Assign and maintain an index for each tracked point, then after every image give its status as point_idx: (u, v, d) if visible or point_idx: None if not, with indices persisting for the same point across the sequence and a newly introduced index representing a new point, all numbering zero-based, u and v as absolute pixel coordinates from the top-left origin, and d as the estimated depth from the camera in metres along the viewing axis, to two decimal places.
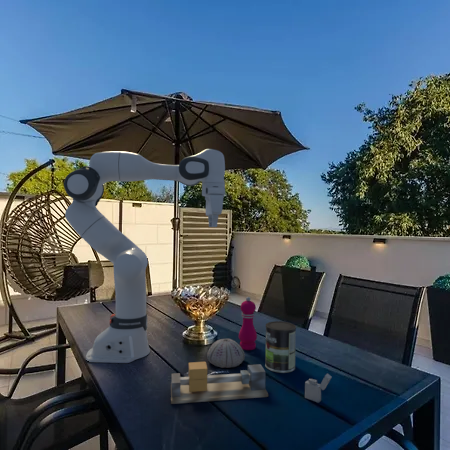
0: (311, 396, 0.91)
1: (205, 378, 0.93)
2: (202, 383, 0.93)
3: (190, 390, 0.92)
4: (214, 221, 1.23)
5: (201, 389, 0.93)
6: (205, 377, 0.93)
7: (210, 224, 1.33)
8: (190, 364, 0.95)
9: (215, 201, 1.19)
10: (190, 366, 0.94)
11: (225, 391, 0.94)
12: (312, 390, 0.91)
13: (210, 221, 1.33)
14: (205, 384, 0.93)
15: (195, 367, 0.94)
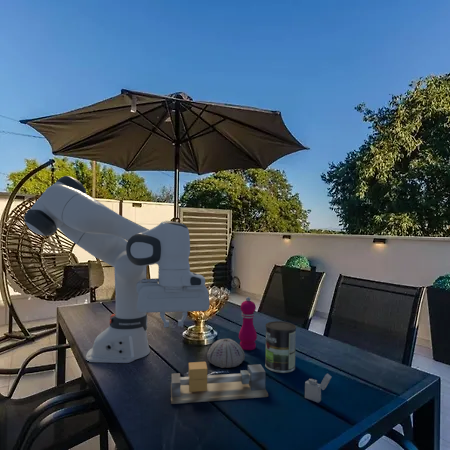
0: (311, 396, 0.91)
1: (205, 378, 0.93)
2: (202, 383, 0.93)
3: (190, 390, 0.92)
4: None
5: (201, 389, 0.93)
6: (205, 377, 0.93)
7: (168, 324, 0.93)
8: (190, 364, 0.95)
9: None
10: (190, 366, 0.94)
11: (225, 391, 0.94)
12: (312, 390, 0.91)
13: (165, 319, 0.93)
14: (205, 384, 0.93)
15: (195, 367, 0.94)
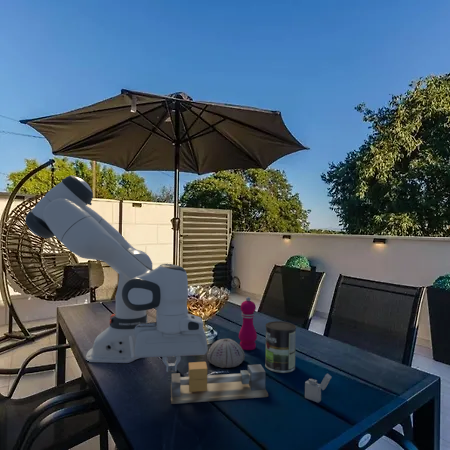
0: (311, 396, 0.91)
1: (205, 378, 0.93)
2: (202, 383, 0.93)
3: (190, 390, 0.92)
4: None
5: (201, 389, 0.93)
6: (205, 377, 0.93)
7: (171, 367, 0.93)
8: (190, 364, 0.95)
9: None
10: (190, 366, 0.94)
11: (225, 391, 0.94)
12: (312, 390, 0.91)
13: (167, 363, 0.93)
14: (205, 384, 0.93)
15: (195, 367, 0.94)
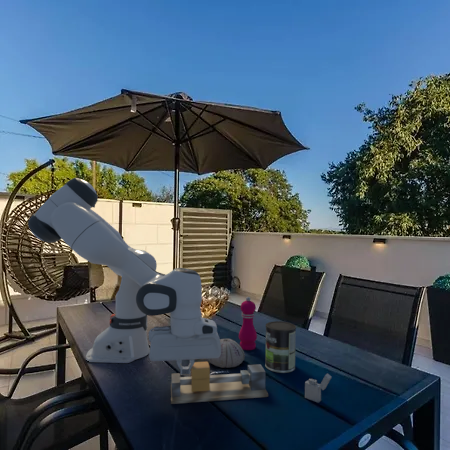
0: (311, 396, 0.91)
1: (207, 378, 0.93)
2: (205, 383, 0.93)
3: (193, 390, 0.92)
4: None
5: (203, 389, 0.93)
6: (207, 377, 0.93)
7: None
8: None
9: None
10: (192, 366, 0.94)
11: (225, 391, 0.94)
12: (312, 390, 0.91)
13: (181, 366, 0.94)
14: (207, 384, 0.93)
15: (197, 367, 0.94)
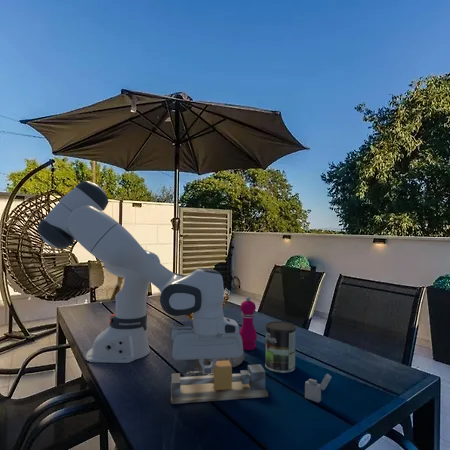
0: (311, 396, 0.91)
1: (230, 376, 0.94)
2: (227, 382, 0.94)
3: (215, 388, 0.93)
4: None
5: (226, 387, 0.94)
6: (230, 375, 0.94)
7: None
8: None
9: None
10: None
11: (225, 391, 0.94)
12: (312, 390, 0.91)
13: (204, 365, 0.95)
14: (230, 382, 0.94)
15: (219, 365, 0.95)
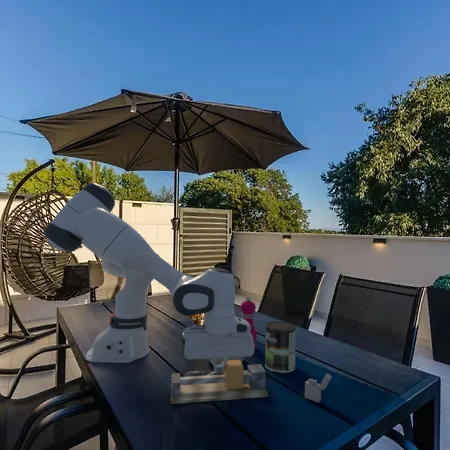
0: (311, 396, 0.91)
1: (241, 376, 0.94)
2: (238, 381, 0.94)
3: (227, 387, 0.94)
4: None
5: (237, 387, 0.94)
6: (241, 375, 0.94)
7: None
8: None
9: None
10: (226, 364, 0.96)
11: (225, 391, 0.94)
12: (312, 390, 0.91)
13: (216, 365, 0.95)
14: (241, 382, 0.94)
15: (230, 365, 0.95)
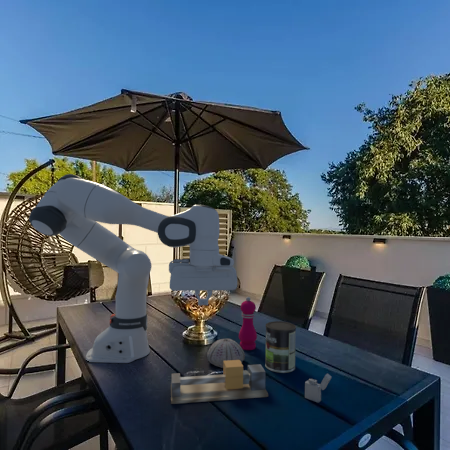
0: (311, 396, 0.91)
1: (241, 376, 0.94)
2: (238, 381, 0.94)
3: (227, 387, 0.94)
4: None
5: (237, 387, 0.94)
6: (241, 375, 0.94)
7: None
8: (225, 362, 0.97)
9: None
10: (226, 364, 0.96)
11: (225, 391, 0.94)
12: (312, 390, 0.91)
13: (199, 297, 0.99)
14: (241, 382, 0.94)
15: (230, 365, 0.95)
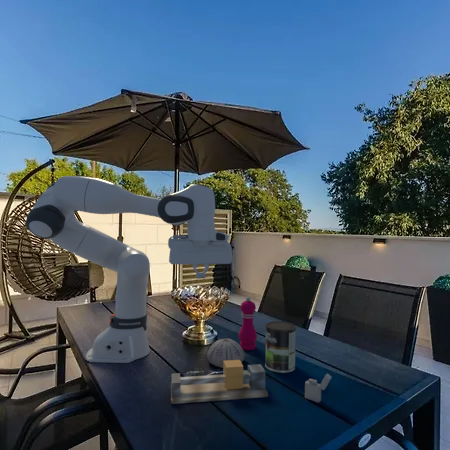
0: (311, 396, 0.91)
1: (241, 376, 0.94)
2: (238, 381, 0.94)
3: (227, 387, 0.94)
4: None
5: (237, 387, 0.94)
6: (241, 375, 0.94)
7: None
8: (225, 362, 0.97)
9: None
10: (226, 364, 0.96)
11: (225, 391, 0.94)
12: (312, 390, 0.91)
13: (197, 271, 1.06)
14: (241, 382, 0.94)
15: (230, 365, 0.95)
